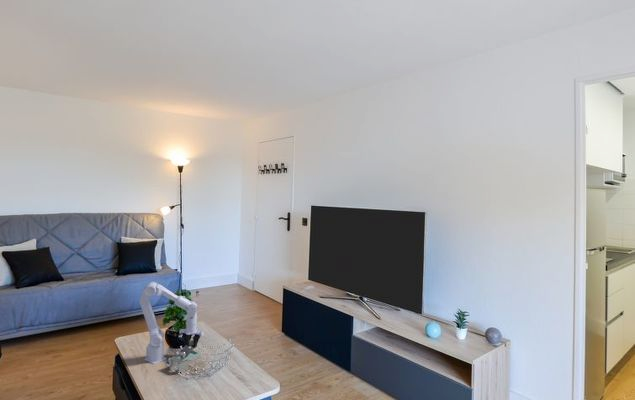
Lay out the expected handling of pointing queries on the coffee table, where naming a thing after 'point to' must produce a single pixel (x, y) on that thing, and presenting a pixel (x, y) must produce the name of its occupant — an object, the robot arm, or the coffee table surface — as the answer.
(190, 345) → the drill
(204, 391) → the coffee table surface
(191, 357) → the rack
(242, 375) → the coffee table surface
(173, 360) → the socket
